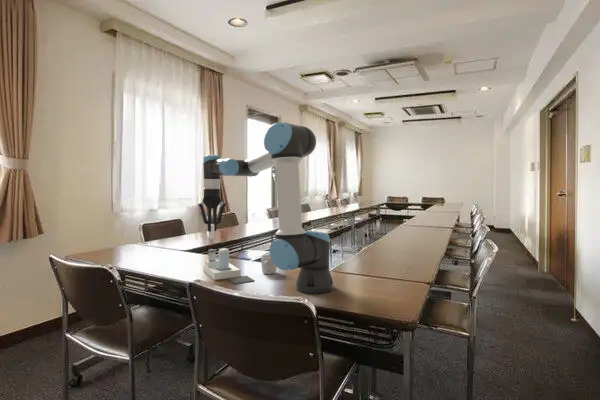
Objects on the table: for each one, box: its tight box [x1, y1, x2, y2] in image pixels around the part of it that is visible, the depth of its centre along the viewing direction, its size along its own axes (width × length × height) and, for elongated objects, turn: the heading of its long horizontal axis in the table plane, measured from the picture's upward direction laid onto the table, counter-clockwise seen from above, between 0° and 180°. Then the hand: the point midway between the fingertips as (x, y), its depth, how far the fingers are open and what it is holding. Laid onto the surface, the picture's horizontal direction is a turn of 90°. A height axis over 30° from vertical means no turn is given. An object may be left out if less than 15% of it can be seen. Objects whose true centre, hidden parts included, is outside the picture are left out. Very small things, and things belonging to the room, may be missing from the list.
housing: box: [202, 258, 241, 281], centre depth 162 cm, size 18×12×6 cm, turn 30°
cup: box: [260, 254, 278, 275], centre depth 162 cm, size 11×8×8 cm
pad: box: [227, 275, 255, 285], centre depth 151 cm, size 9×9×1 cm
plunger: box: [207, 248, 217, 262], centre depth 164 cm, size 4×4×6 cm
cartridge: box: [217, 248, 230, 271], centre depth 159 cm, size 5×5×12 cm
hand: (212, 238), depth 163 cm, fingers closed
